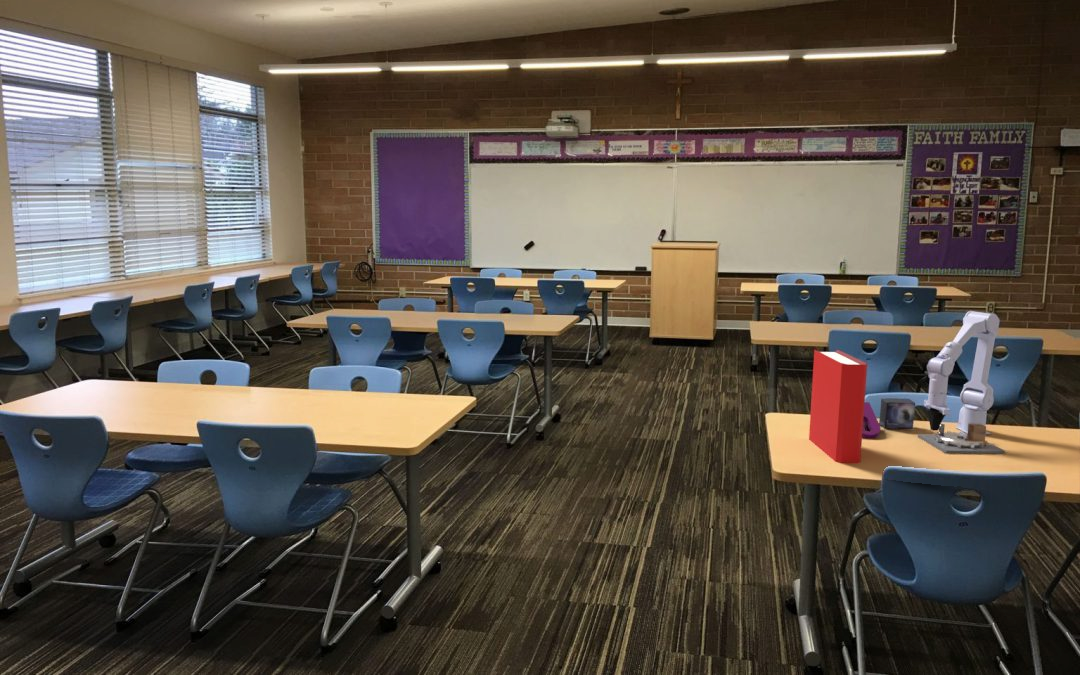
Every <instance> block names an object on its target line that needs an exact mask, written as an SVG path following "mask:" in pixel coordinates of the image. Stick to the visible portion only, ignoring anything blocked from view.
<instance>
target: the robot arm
mask: <svg viewBox="0 0 1080 675" xmlns="http://www.w3.org/2000/svg"><path fill="white" fill-rule="evenodd" d="M1000 322H1001V321H1000V318H999V317H998V315H997V314H996V313H989V312H982V311H974V310H969V311H967V312H966V313H965V315H964V317H963V318H962V324H963V325H962V326H961V328H960V329H959V331H958V333H957V334H956V336H955V337H954V338H953V341H949V342H946V344H945V345H944V346H943V348H942V349H941V350H940V352H939V353H938V354H937V355H936V357H932V358H930V359H929V360H928V363H927V364H926V370H927V372H928V378H929V384H928V397H927V399H923V405H924V407H927V408H926V409H925V413H926V414H927V417H928V421H929V427H930V430H931V431H939V426H940V424H942V422H943V420H944V418H945V417H946V416H948V415H950V411H951V409H950V408H949V407H948V405H947V397H948V396H947V395H948V394H947V393H948V382H949V376H950V375H951V374H952V373H953V370H954V366H955V365H956V364H955V362H956V361H957V360H958V359H959V357H960V356H961V354H962V353H963V346H964V345H966V344H967V342H968V341H969V340H970V339H971V338H972V337H973V335H976V337H977V345H976V349H975V350H976V351H975V356H974V360H973V366H972V372H971V379H970V380H969V381H967V382H965V384H963V387H962V390H961V392H960V395H959V400H960V403H961V404H962V407H961V408H960V410H959V414H958V425H957V426H955V428H956V429H957V430H960V432H963V433H965V434H967V433H968V424H982V425H984V426H986V425H987V411H988V410H989V409H990V408H992V407H993V404H994V402H995V401H994V388H993V387H992V386H991V385H990V384H989V383H988V379H989V375H990V369H991V362H992V359H993V358H992V357H993V351H994V348H995V347H994V345H995V339H996V337H997V336H998V333H999V326H1000ZM986 435H991V433H990V432H989V431H987V430H986Z"/></svg>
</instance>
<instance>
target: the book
mask: <svg viewBox="0 0 1080 675" xmlns="http://www.w3.org/2000/svg"><path fill="white" fill-rule="evenodd" d="M812 368H813V369H812V385H811V401H810V414H809V416H810V417H809V418H810V419H809V434H808V440H809V441H810V442H811V443H813V444H814V445H815V446H816V447H817V448H819V449H820V450H821V451H822V452H823V453H824V454H825V455H827V456H828V457H829V458H830V459H832V460H833V461H834V462H835V463H839V464H859V463H861V457H862V456H861V455H862V444H863V442H862V441H863V438H862V431H863V417H864V404H865V400H866V391H867V390H866V387H867V374H868V373H867V372H868V363H866V362H865V361H863V360H861V359H858V358H856V357H854V356H852V355H850V354H848V353H845V352H844V351H841V350H839V349H837V350H836V351H818V350H816V349H814V353H813V366H812Z"/></svg>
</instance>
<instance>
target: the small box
mask: <svg viewBox="0 0 1080 675" xmlns="http://www.w3.org/2000/svg"><path fill="white" fill-rule="evenodd" d="M880 400H881V401H880V409H879V410H880V411H879V420H878V423H879V425H880V428H883V429H884V430H901V429H913V430H914V422H915V421H914V420H915V409H916V402H915V401H912V400H911V399H910V398H893V397H889V398H888V397H886V398H885V397H882V398H881V399H880Z"/></svg>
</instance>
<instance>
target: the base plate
mask: <svg viewBox="0 0 1080 675" xmlns="http://www.w3.org/2000/svg"><path fill="white" fill-rule="evenodd" d="M935 434H936V433H935ZM935 434H933V433H932V434H929V433H928V434H927V433H926V434H925V433H924V434H920V433H919V434H917V438H918V437H919V439H920V438H921V439H920V440H922V441H923V440H924V441H923V442H925V441H926V442H925V443H927V444H929V445H930V444H931V445H930V446H933V448H935V447H936V448H935V449H937V448H938V450H939V451H940V450H941V451H940V452H942V451H943V452H942V453H944V454H946V453H951V454H952V453H953V454H954V453H960V454H963V455H964V454H965V455H966V454H969V455H971V454H973V455H975V454H983V455H984V454H987V455H989V454H995V455H996V454H997V455H999V454H1001V455H1002V454H1003V453H1005V454H1006V450H1004V449H1003V448H1001V447H999V446H997V445H994V444H993V443H991V442H989V441H987V445H984V447H983V448H981V447H974V448H969V447H961V448H959V447H957V446H952V445H944V443H942V442H937V441H936V439H934V435H935ZM937 435H938V433H937ZM1003 455H1004V454H1003Z"/></svg>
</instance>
